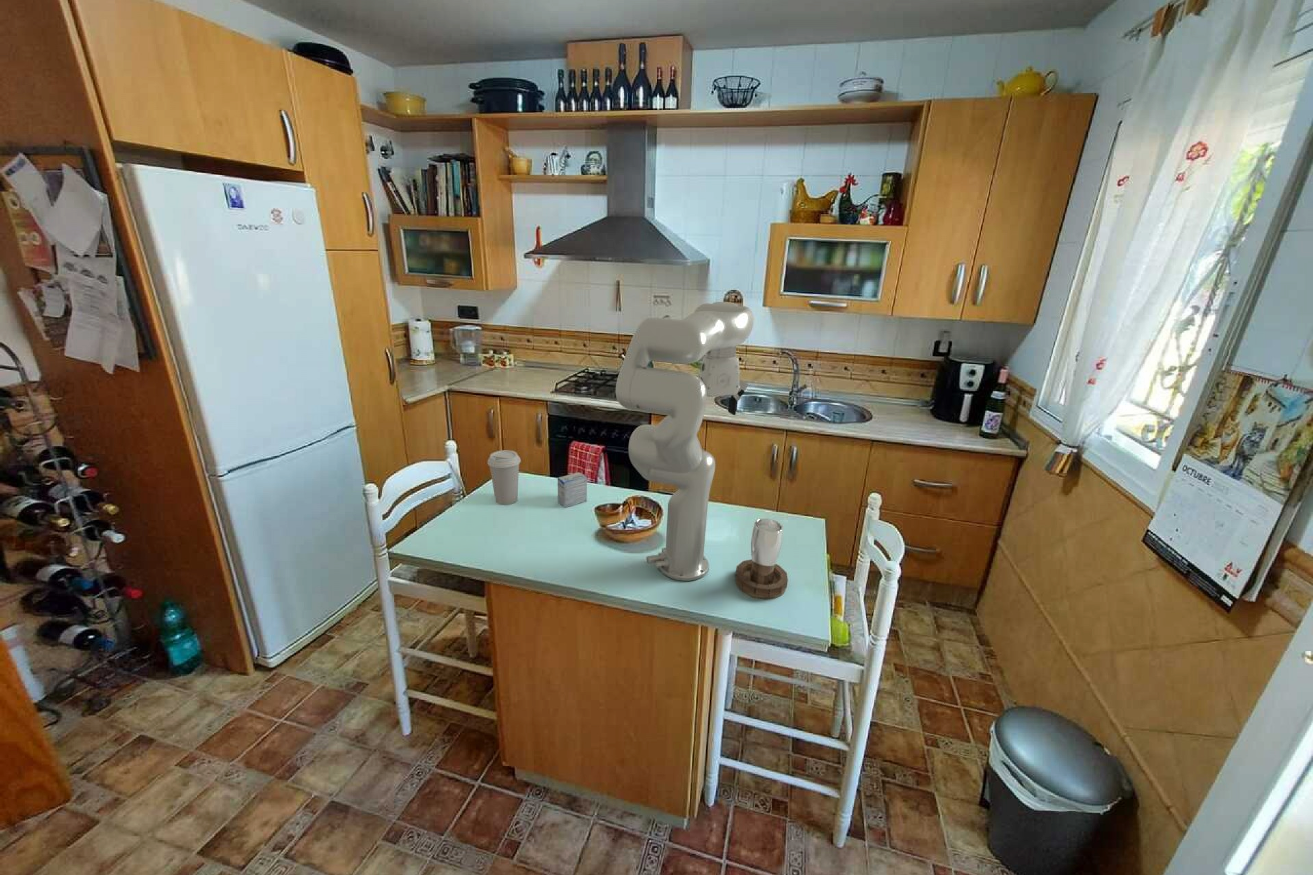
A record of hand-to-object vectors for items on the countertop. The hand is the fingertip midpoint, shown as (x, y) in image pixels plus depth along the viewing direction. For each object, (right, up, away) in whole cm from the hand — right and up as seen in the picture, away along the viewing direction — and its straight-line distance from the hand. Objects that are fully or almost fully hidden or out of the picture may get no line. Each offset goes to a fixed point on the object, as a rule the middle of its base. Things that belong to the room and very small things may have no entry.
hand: (715, 414), depth 139 cm
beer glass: (+9, -41, -15) cm, 44 cm away
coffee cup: (-62, -26, +20) cm, 70 cm away
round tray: (+9, -41, -15) cm, 45 cm away
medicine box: (-42, -26, +21) cm, 54 cm away
